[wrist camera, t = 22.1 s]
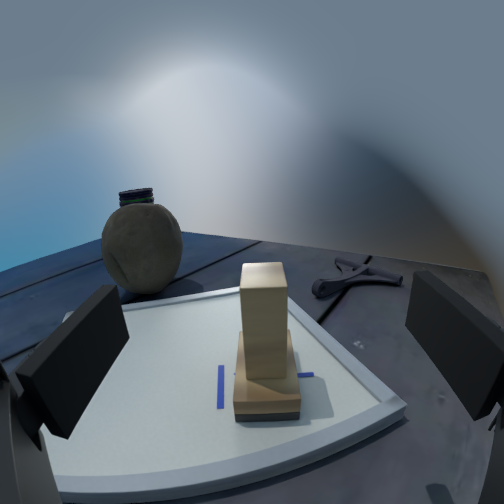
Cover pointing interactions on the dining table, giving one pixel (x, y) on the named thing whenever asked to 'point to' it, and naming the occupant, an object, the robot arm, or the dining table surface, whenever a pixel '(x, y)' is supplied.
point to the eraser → (265, 349)
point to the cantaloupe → (142, 247)
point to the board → (208, 408)
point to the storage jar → (136, 196)
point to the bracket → (352, 277)
